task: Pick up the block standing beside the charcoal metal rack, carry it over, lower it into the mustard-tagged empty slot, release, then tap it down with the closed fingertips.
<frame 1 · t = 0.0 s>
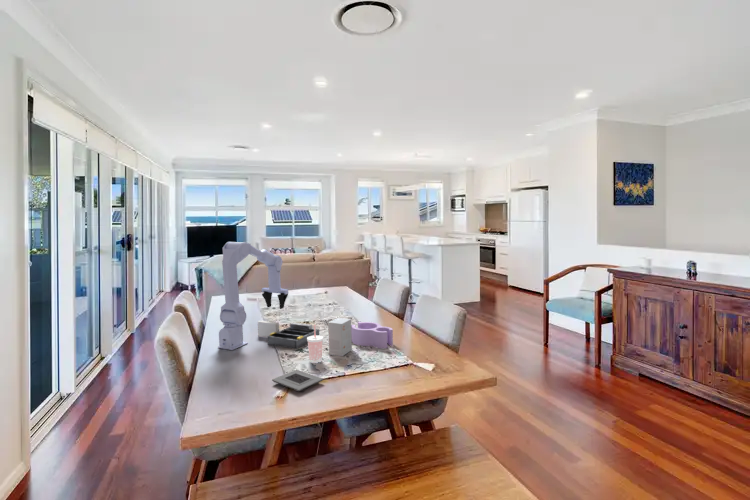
hand: (275, 307, 198), 10 cm above the table, fingers open, 7 cm apart
clip: (371, 343, 176), on the table
block: (268, 337, 185), on the table
grey picture frame: (297, 385, 134), on the table
rack: (294, 340, 179), on the table
beverage cup: (315, 361, 155), on the table
small box: (340, 352, 164), on the table
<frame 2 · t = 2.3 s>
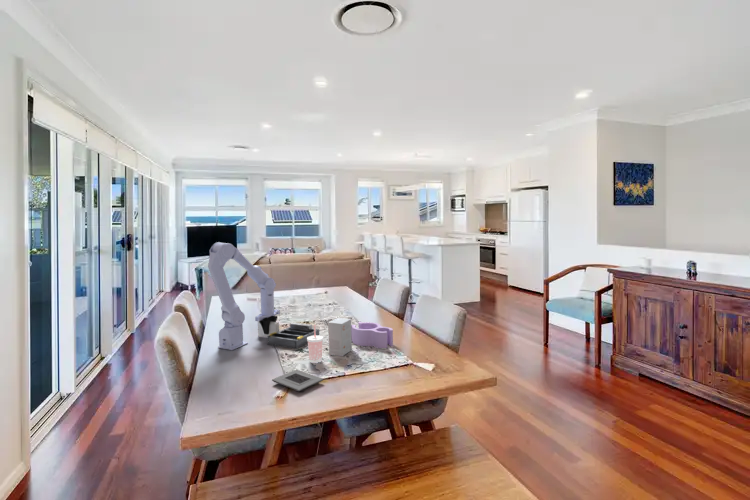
hand: (268, 333, 185), 2 cm above the table, fingers closed on block, 2 cm apart
block: (268, 337, 185), on the table, touching gripper
everything else where it was.
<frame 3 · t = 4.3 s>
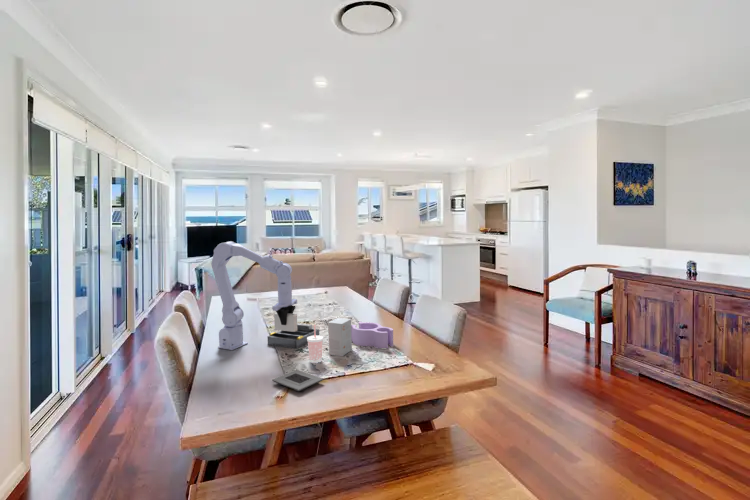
hand: (285, 323, 173), 9 cm above the table, fingers closed on block, 2 cm apart
block: (286, 329, 174), point 6 cm above the table, touching gripper
everything else where it was.
when the fingers open (4 cm above the table, at t = 6.3 s): block drops 1 cm, resting in rack.
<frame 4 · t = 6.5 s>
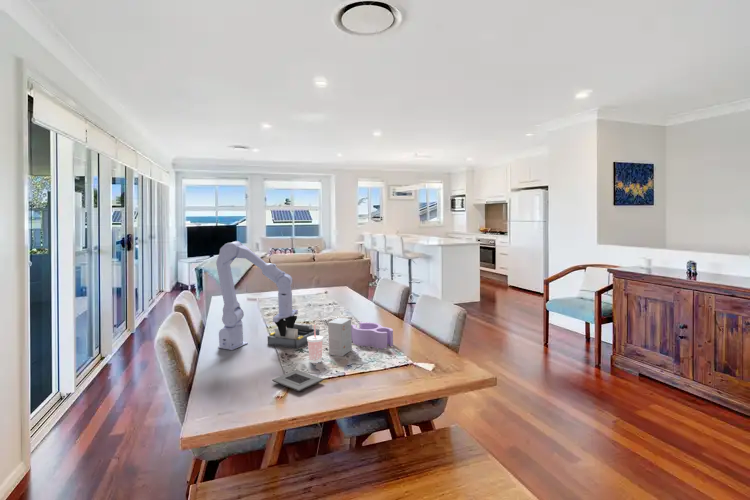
hand: (286, 334, 174), 4 cm above the table, fingers open, 4 cm apart
block: (286, 344, 174), resting in rack
everything else where it was.
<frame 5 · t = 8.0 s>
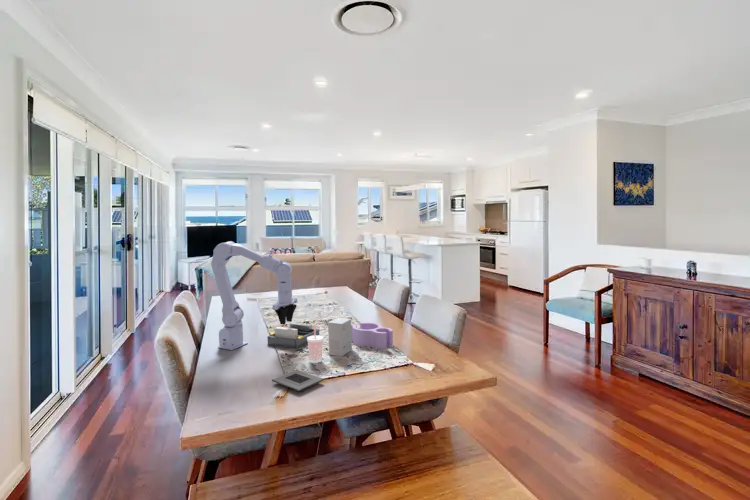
hand: (286, 322, 173), 9 cm above the table, fingers open, 4 cm apart
nothing on the table moved.
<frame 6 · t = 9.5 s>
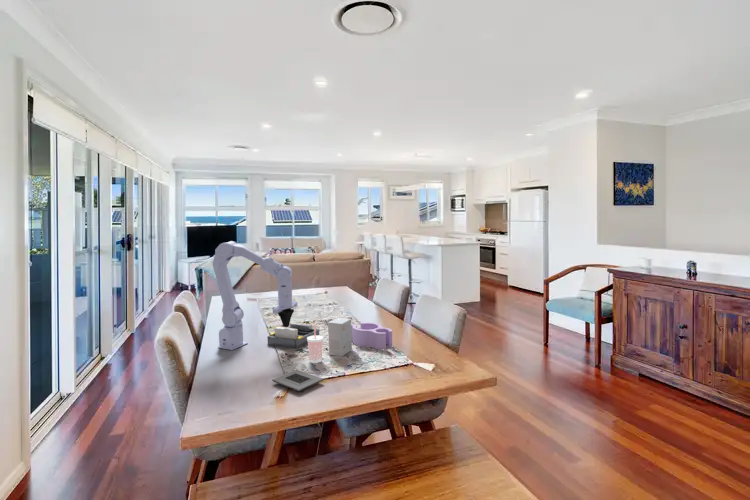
hand: (286, 326, 173), 8 cm above the table, fingers closed
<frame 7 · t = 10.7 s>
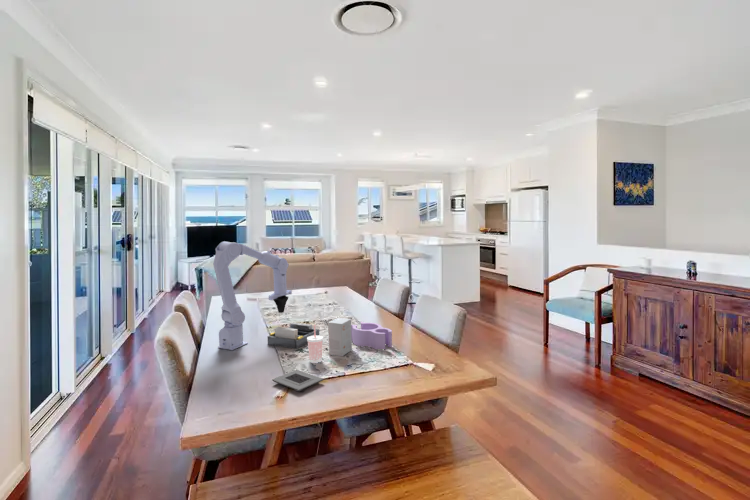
hand: (281, 312, 189), 10 cm above the table, fingers closed
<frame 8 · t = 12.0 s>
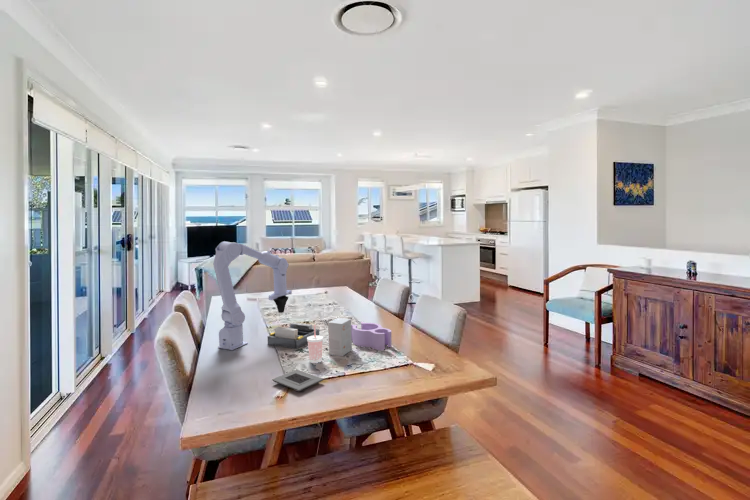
hand: (281, 312, 189), 10 cm above the table, fingers closed
at the end: block 0.0 cm from the target spot on the rack, point 0.0 cm above the rack's base; block tilted 0°; the gripper is holding nothing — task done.
